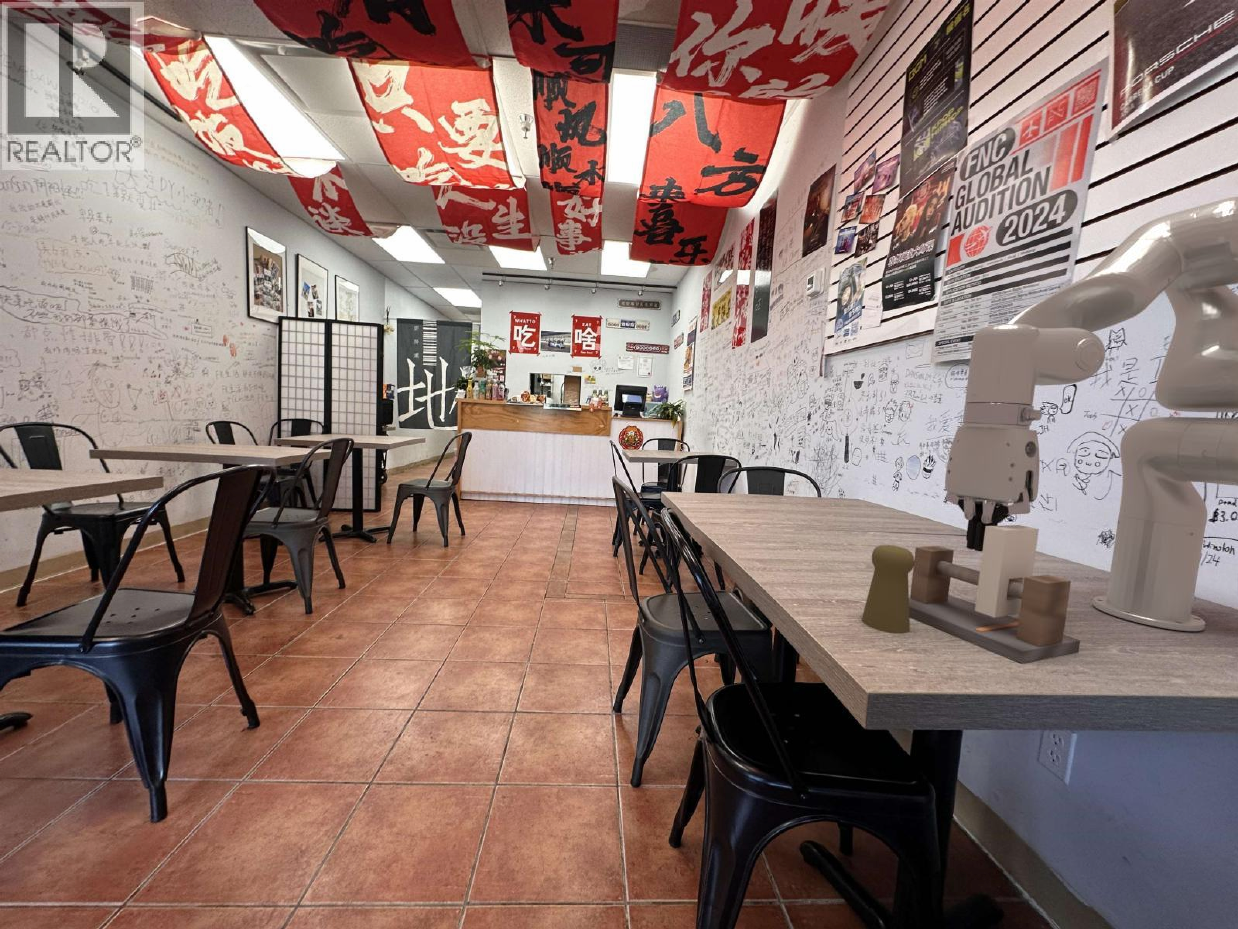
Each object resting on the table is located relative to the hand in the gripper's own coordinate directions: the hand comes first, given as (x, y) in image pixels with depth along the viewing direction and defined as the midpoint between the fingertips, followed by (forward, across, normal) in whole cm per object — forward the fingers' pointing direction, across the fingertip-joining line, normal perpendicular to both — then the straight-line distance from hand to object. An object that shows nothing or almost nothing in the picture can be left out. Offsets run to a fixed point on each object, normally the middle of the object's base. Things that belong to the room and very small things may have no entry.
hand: (979, 549), depth 73 cm
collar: (+8, -4, 0) cm, 8 cm away
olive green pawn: (+11, +4, +12) cm, 17 cm away
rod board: (+11, -1, 0) cm, 11 cm away
